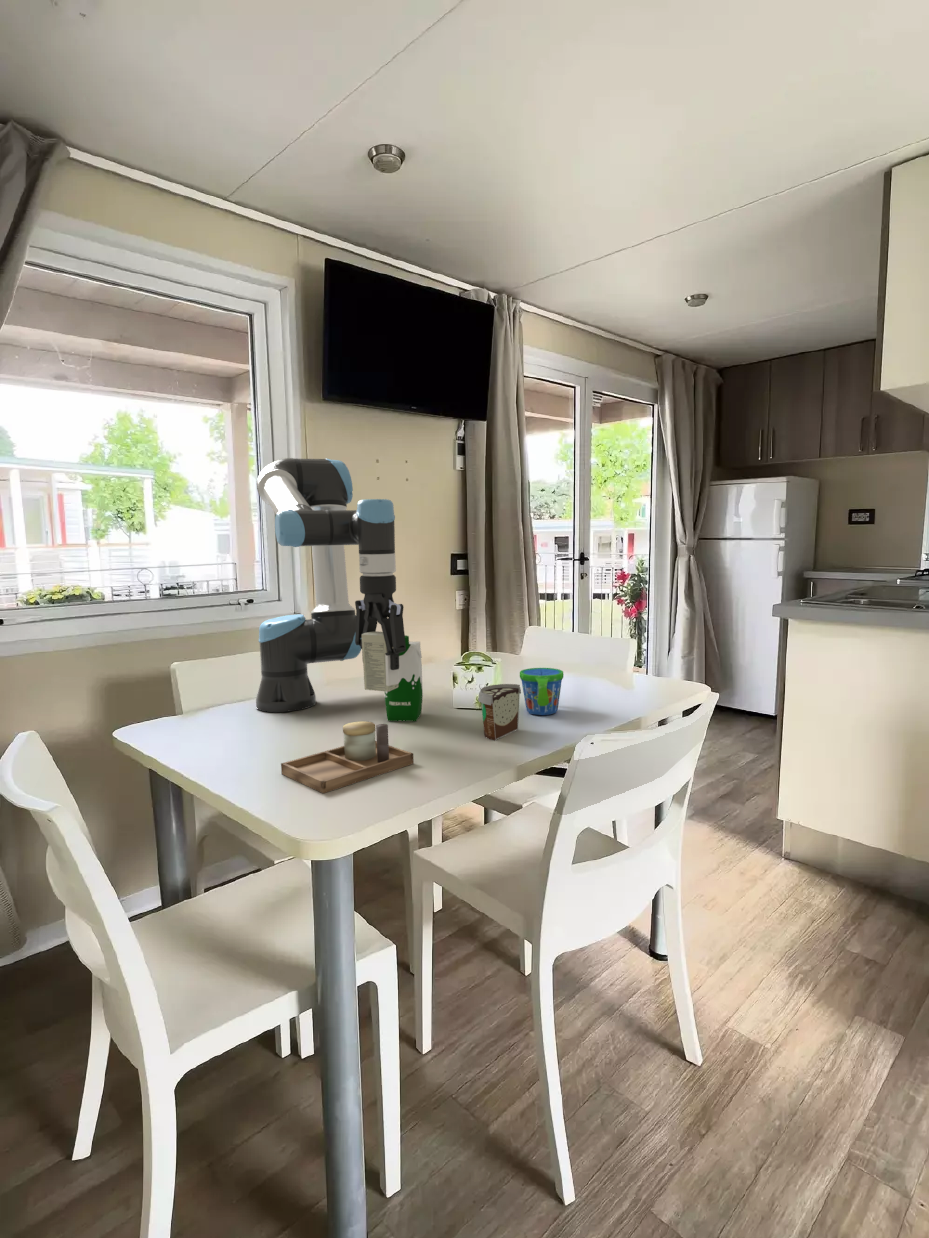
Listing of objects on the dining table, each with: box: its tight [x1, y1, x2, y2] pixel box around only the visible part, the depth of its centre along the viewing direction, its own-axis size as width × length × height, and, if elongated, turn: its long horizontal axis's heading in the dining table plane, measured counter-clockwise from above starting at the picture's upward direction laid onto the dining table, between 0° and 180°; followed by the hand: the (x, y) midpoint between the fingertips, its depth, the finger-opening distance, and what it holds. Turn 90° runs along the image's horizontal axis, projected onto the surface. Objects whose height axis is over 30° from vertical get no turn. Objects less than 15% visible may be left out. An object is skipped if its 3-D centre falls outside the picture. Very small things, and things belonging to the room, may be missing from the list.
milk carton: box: [384, 634, 424, 722], centre depth 157 cm, size 9×9×20 cm
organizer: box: [280, 721, 414, 794], centre depth 123 cm, size 14×20×8 cm
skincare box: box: [361, 630, 398, 692], centre depth 140 cm, size 6×4×12 cm
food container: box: [477, 683, 522, 741], centre depth 144 cm, size 12×6×10 cm, turn 145°
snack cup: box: [519, 667, 564, 716], centre depth 160 cm, size 16×10×10 cm
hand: (381, 681), depth 141 cm, fingers closed on skincare box, 7 cm apart
